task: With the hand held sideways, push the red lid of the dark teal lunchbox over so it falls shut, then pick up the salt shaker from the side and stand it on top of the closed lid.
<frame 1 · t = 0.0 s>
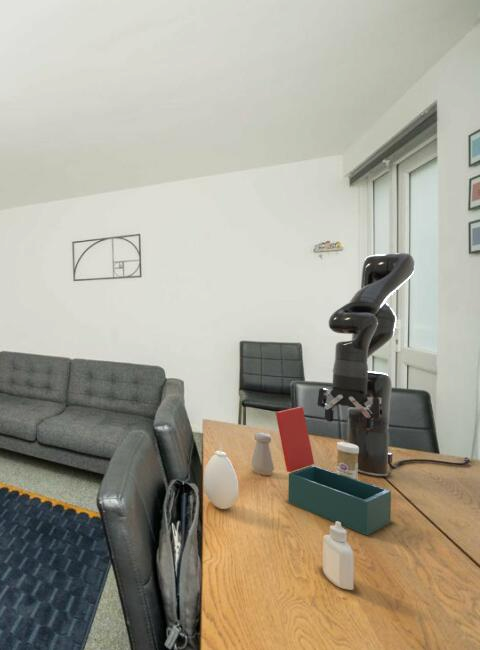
hand: (347, 425, 113), 17 cm above the table, tool pointing down, fingers open, 8 cm apart
salt shaker: (262, 473, 118), on the table
lid: (295, 438, 104), point 17 cm above the table, hinge at 100.0°
eye dropper bottle: (337, 581, 73), on the table
sauce bottle: (220, 507, 98), on the table
sprinkles bottle: (347, 488, 108), on the table
lunchbox: (336, 512, 96), on the table
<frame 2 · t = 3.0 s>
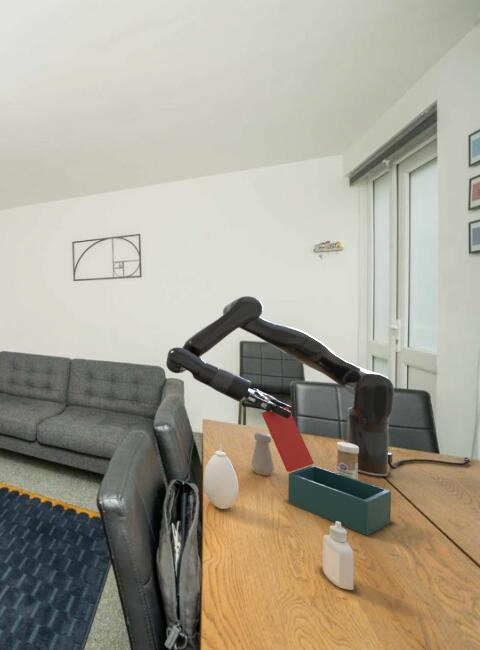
hand: (290, 412, 107), 23 cm above the table, tool tilted 65°
lid: (287, 437, 105), point 16 cm above the table, hinge at 113.3°, touching gripper
everything else where it was.
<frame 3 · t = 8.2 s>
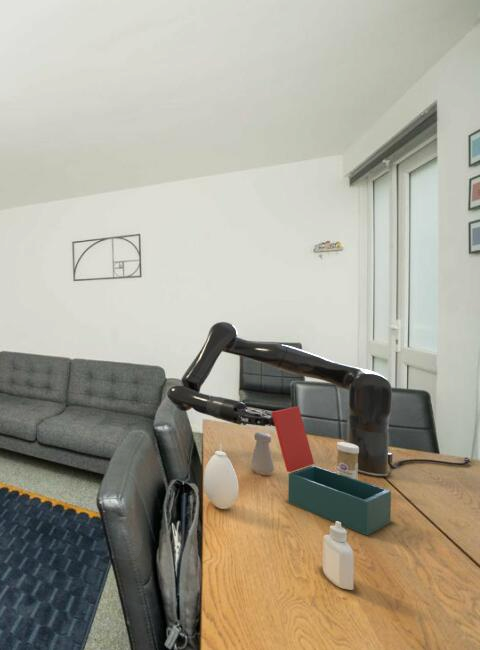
hand: (287, 425, 105), 20 cm above the table, tool horizontal, fingers closed
lid: (293, 438, 104), point 17 cm above the table, hinge at 103.6°, touching gripper
everything else where it was.
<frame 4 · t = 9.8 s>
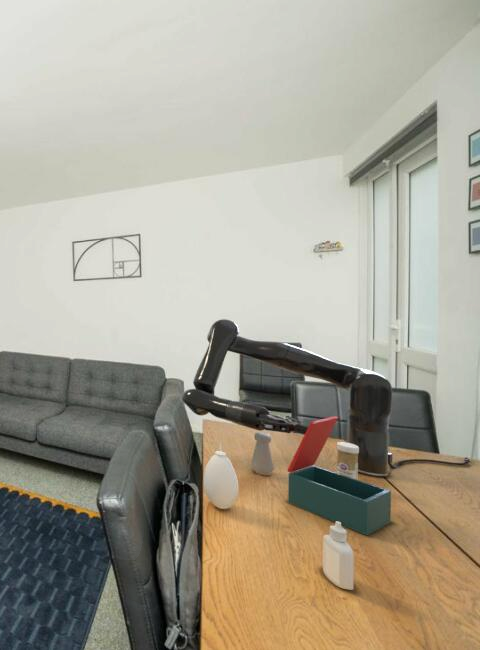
hand: (315, 432, 100), 20 cm above the table, tool horizontal, fingers closed
lid: (312, 444, 100), point 17 cm above the table, hinge at 71.7°, touching gripper
everything else where it was.
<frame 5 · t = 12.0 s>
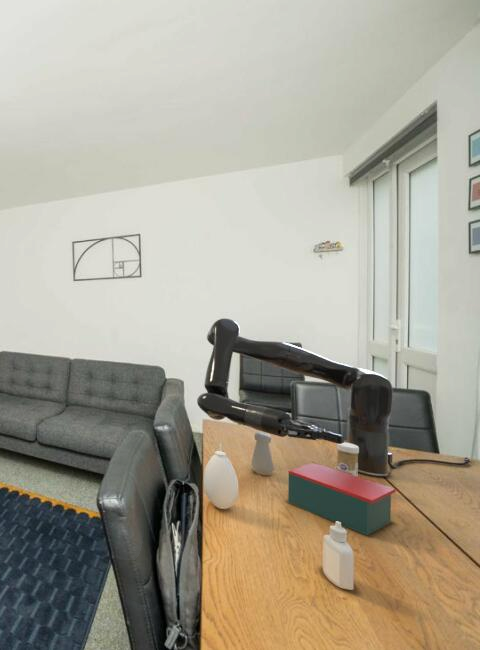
hand: (342, 439, 94), 20 cm above the table, tool horizontal, fingers closed
lid: (339, 480, 95), point 9 cm above the table, hinge at -0.1°
everything else where it was.
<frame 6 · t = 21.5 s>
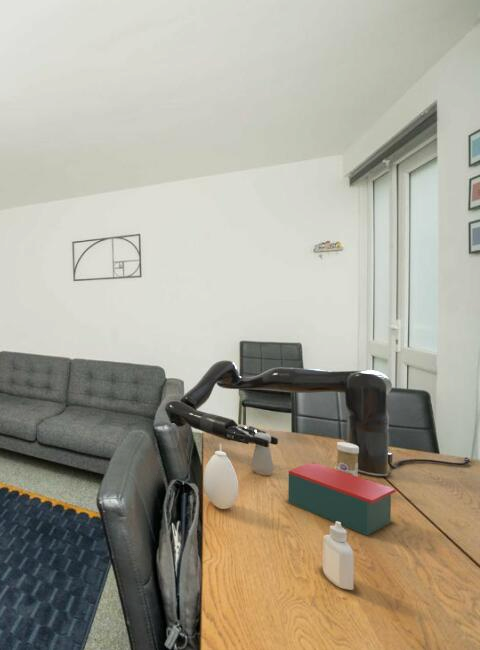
hand: (272, 442, 115), 11 cm above the table, tool horizontal, fingers closed on salt shaker, 4 cm apart
salt shaker: (262, 473, 118), on the table, touching gripper
everything else where it was.
when the fingers open (20 cm above the table, at t = 29.0 s): salt shaker stays where it is, resting on lid.
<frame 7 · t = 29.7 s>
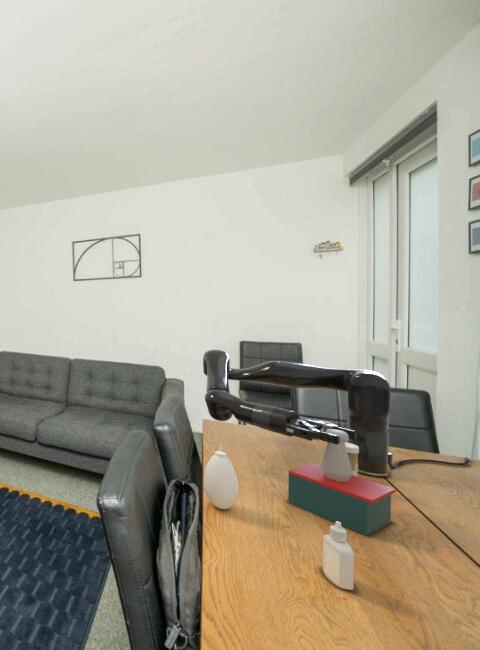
hand: (347, 438, 93), 21 cm above the table, tool horizontal, fingers open, 8 cm apart
salt shaker: (336, 479, 95), point 9 cm above the table, touching lid
lid: (339, 480, 95), point 9 cm above the table, hinge at -0.2°, touching lunchbox, salt shaker
everything else where it was.
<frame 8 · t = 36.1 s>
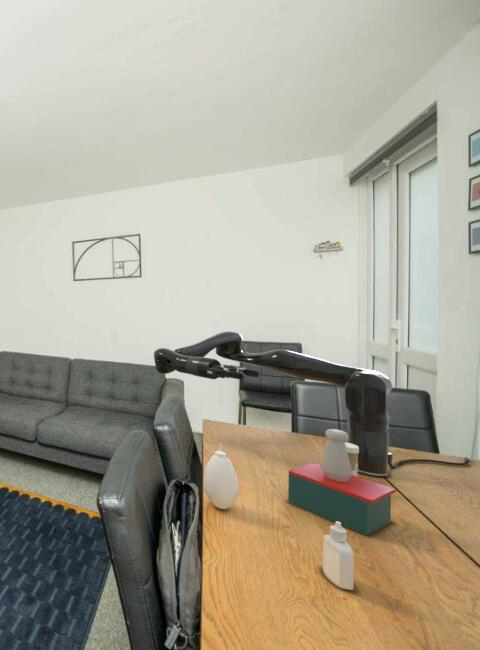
hand: (250, 375, 119), 32 cm above the table, tool horizontal, fingers open, 8 cm apart
nothing on the table moved.
at the end: lid at +0° (first picture: +100°); salt shaker inside the target area on the lunchbox (0.2 cm from its centre), point 8.9 cm above the lunchbox's base; salt shaker tilted 0° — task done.
